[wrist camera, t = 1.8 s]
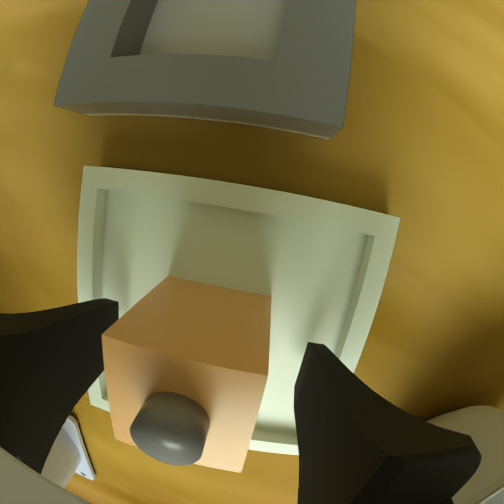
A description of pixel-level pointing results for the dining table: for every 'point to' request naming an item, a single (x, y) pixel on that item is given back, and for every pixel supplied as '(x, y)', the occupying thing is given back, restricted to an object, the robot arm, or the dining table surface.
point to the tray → (239, 266)
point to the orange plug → (189, 372)
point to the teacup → (490, 446)
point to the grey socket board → (214, 62)
